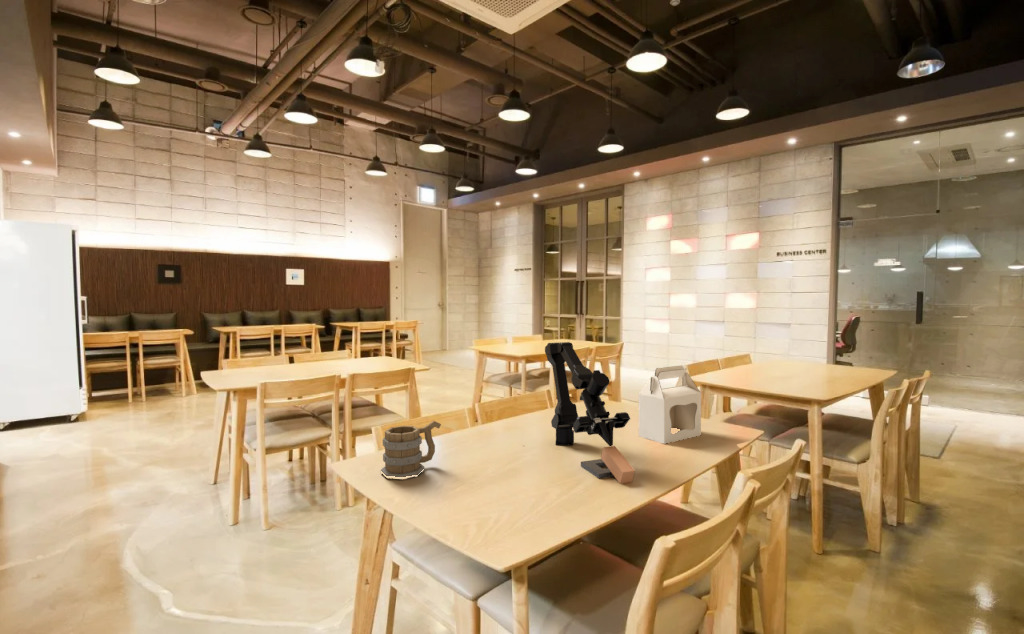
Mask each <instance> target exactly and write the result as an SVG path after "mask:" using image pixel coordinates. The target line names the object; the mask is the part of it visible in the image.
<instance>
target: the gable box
mask: <svg viewBox="0 0 1024 634" xmlns="http://www.w3.org/2000/svg"><path fill="white" fill-rule="evenodd" d="M686 371H687V368H685V367H684V365H674V366H665V367H664V366H663V367H656V369H655V372H654V375H652V376H650V377H649V378H648V380H647V381H646V383H645V385H643V387H642V389H641V390H640V391H639V392H638V437H639V436H640V437H639V438H642V437H643V438H642V439H646V440H649V439H650V440H649V441H652V440H653V441H652V442H655V441H656V442H655V443H658V442H659V444H662V443H663V444H662V445H667V444H666V443H668V444H671V443H670V442H672V443H675V442H674V441H676V442H679V441H678V440H680V441H684V440H688V439H687V438H689V439H692V437H693V438H696V436H697V437H700V435H701V436H702V432H701V431H702V392H701V391H700V389H699V387H698V386H697V385H696V384H695V382H694V380H693V379H692V378H691V376H690V374H688V372H686ZM675 378H677V380H676V383H675V386H673V387H666V388H662V386H661V383H660V381H661V380H668V379H675ZM671 428H677V429H680V431H678V432H677V433H675V434H672V433H671ZM683 439H684V440H683Z"/></svg>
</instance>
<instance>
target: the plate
mask: <svg viewBox="0 0 1024 634" xmlns="http://www.w3.org/2000/svg"><path fill="white" fill-rule="evenodd" d="M580 467H581V468H582V469H584V470H586V471H587V472H588V473H589V474H592V475H593V476H594V477H595V478H597V479H599V480H600V479H606V478H608V479H609V478H615V476H614V475H613V474H612V472H611V471H610V470H609V468H608V467H607V466H606V464H605V463H604V462H603V460H602V459H601V458H599V459H590V460H585V461H584V460H583V461H580ZM605 467H606V468H605Z"/></svg>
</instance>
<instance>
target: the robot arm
mask: <svg viewBox="0 0 1024 634" xmlns="http://www.w3.org/2000/svg"><path fill="white" fill-rule="evenodd" d="M544 353H545V355H546V359H547V361H548V363H549V364H551V366H552V373H553V378H554V379H553V380H554V385H555V394H556V400H557V403H556V406H555V408H554V414H553V417H552V419H551V427H552V428H553V429H554V430H555V443H554V444H555V446H573V445H574V442H575V434H578V433H587V435H588V436H592V435H598V436H599V437H601V439H602V440H604V442H606V444H607V445H608V447H610V446H614V428H615V429H623V428H625V426H626V425H627V424H628V423H629V421H630V420H631V417H630V414H629V413H628V412H627V411H624V412H616V413H615V414H614V416H613V417H609V416H610V414H611V413H610V411H607V410H606V407H605V405H606V403H605V400H602V399H601V397H600V396H602V395H603V394H604V393H605V391H606V389H607V388H608V386H609V384H610V378H609V376H607V375H606V374H605V373H603V372H601V370H599V369H595V370H593V371H591V369H590V368H588V367H586V366H584V364H583V362H582V361H581V359H580V357H579V356H578V354H577V352H576V351H575V349H574V346H573V343H572V342H570V341H567V342H566V341H564V342H548V343H547V345H546V346H545V347H544ZM565 364H566V365H565ZM566 366H567V367H568V369H569V371H570V372H571V382H572V385H573V387H574V389H575V390H582V391H581V392H580V395H579V400H580V401H583V403H584V405H585V409H586V411H585V415H583V416H581V415H580V416H579V415H578V411H577V405H576V403H573V401H571V397H570V391H569V384H568V378H567V377H568V376H567V370H566Z"/></svg>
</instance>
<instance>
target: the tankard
mask: <svg viewBox="0 0 1024 634" xmlns="http://www.w3.org/2000/svg"><path fill="white" fill-rule="evenodd" d="M441 426H442V424H441V423H440V422H438V421H435V420H432V421H431V422H429V424H426V425H425V426H423V427H417V426H415V425H399V426H391V427H389V428H387V429H386V430H384V438H382V446H383V447H384V452H383V454H382V461H383V462H384V463H385V464H384V467H382V468H381V469H380V472H381V471H382V472H383V473H384V474H385V475H386V476H395V477H406V476H412V475H418V474H419V473H420V472H421V471H422V470H423V469H424V470H425V466H424V464H422V463H427V462H430V461H431V460H432V459H433V457H434V455H435V453H436V445H435V442H434V440H433V434H432V430H433V429H434V428H436V429H440V427H441ZM420 434H424V440H425V442H426V444H427V452H426V454H425V455H423V451H422V450H421V449H420V448H421V447H420V446H421V444H422V442H423V440H422V439H423V437H422V436H421V435H420Z"/></svg>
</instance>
